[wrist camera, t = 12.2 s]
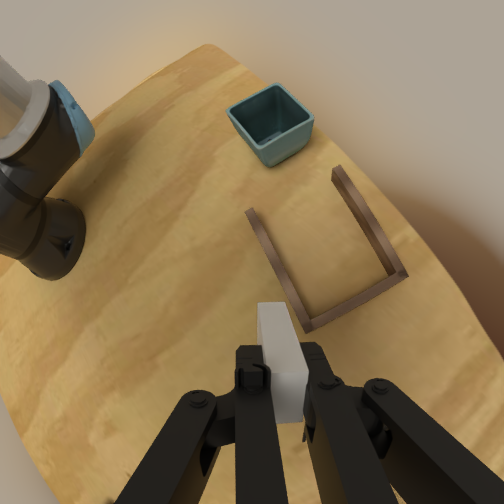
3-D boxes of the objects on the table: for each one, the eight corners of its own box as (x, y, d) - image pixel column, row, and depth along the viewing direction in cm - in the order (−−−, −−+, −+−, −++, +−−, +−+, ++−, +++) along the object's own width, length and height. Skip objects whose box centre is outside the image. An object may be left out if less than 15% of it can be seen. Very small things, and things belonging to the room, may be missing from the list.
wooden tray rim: (249, 221, 44) (244, 211, 40) (338, 176, 43) (340, 164, 40) (305, 333, 38) (305, 333, 35) (401, 281, 38) (408, 276, 34)
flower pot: (316, 154, 45) (316, 116, 36) (268, 183, 45) (258, 150, 36) (283, 118, 47) (277, 80, 39) (238, 145, 47) (223, 109, 39)
